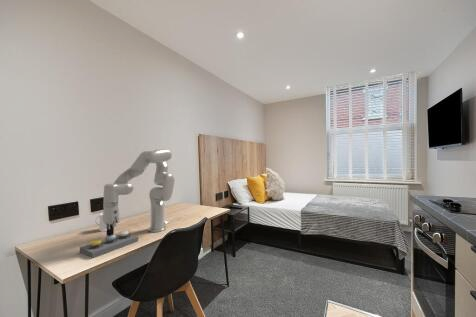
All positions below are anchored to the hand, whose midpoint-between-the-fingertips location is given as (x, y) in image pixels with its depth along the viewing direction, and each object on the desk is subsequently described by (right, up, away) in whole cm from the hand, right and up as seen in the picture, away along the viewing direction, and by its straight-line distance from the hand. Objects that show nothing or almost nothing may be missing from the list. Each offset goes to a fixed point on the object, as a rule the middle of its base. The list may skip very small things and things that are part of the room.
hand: (110, 235), depth 120 cm
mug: (-24, -8, +30) cm, 40 cm away
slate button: (0, -3, 0) cm, 3 cm away
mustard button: (-4, -3, -6) cm, 8 cm away
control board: (0, -7, 0) cm, 7 cm away
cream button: (+4, -3, +7) cm, 9 cm away
